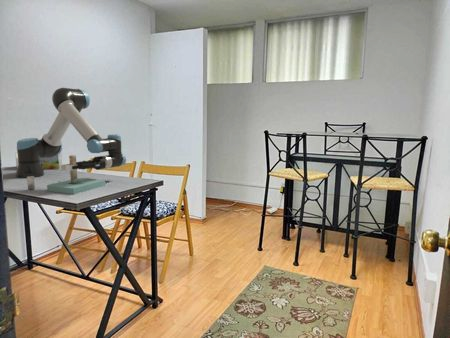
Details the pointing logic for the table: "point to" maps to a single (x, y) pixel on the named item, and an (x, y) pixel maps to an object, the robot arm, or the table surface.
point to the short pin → (30, 183)
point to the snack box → (51, 162)
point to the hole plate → (76, 185)
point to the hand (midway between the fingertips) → (63, 168)
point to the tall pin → (73, 172)
